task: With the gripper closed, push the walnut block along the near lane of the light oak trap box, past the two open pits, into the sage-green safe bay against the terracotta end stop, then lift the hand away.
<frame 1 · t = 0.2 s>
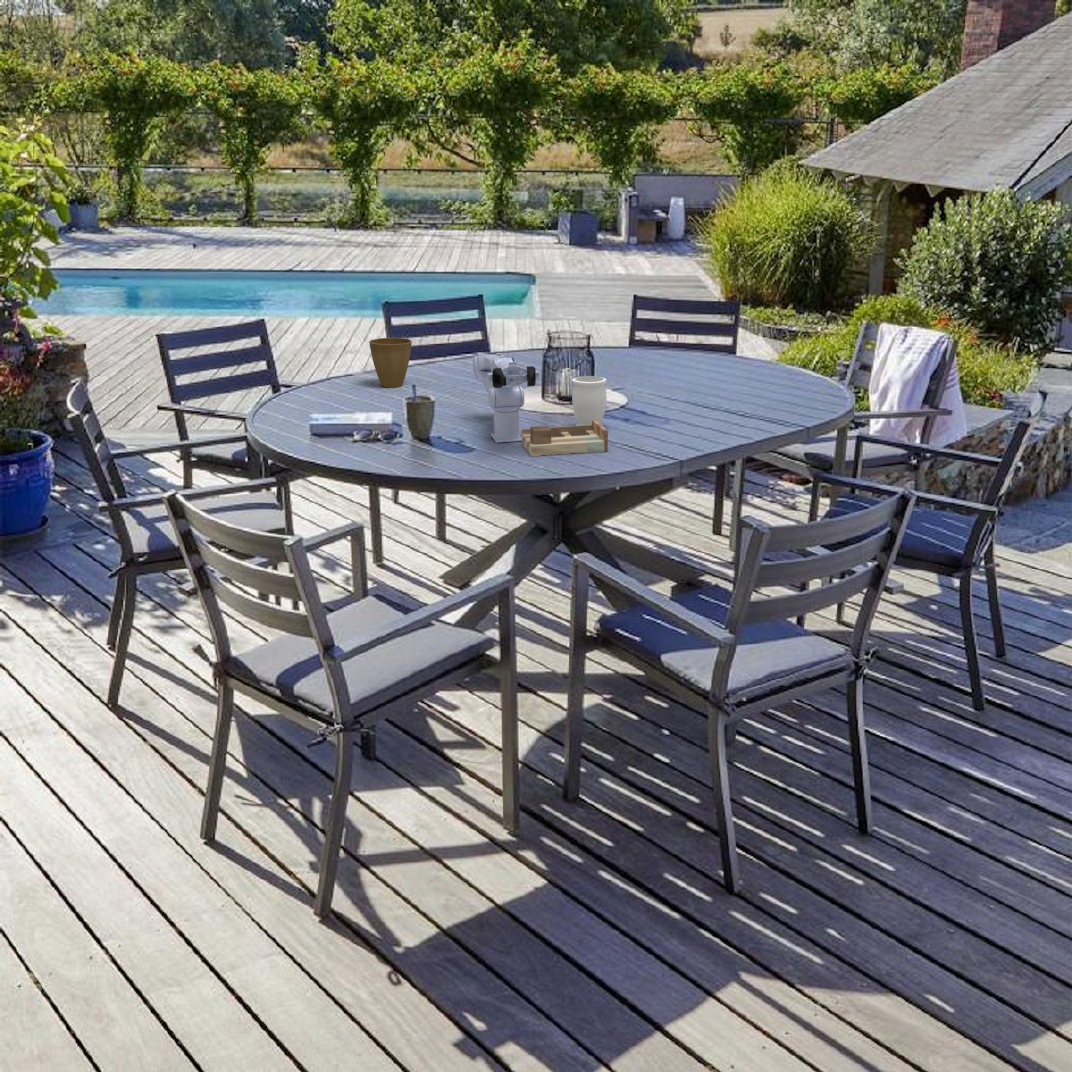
hand: (518, 381, 346), 21 cm above the table, tool horizontal, fingers open, 7 cm apart
jar: (589, 428, 383), on the table
trap box: (564, 447, 360), on the table
walnut block: (540, 441, 355), point 3 cm above the table, touching trap box
plant pot: (392, 386, 446), on the table
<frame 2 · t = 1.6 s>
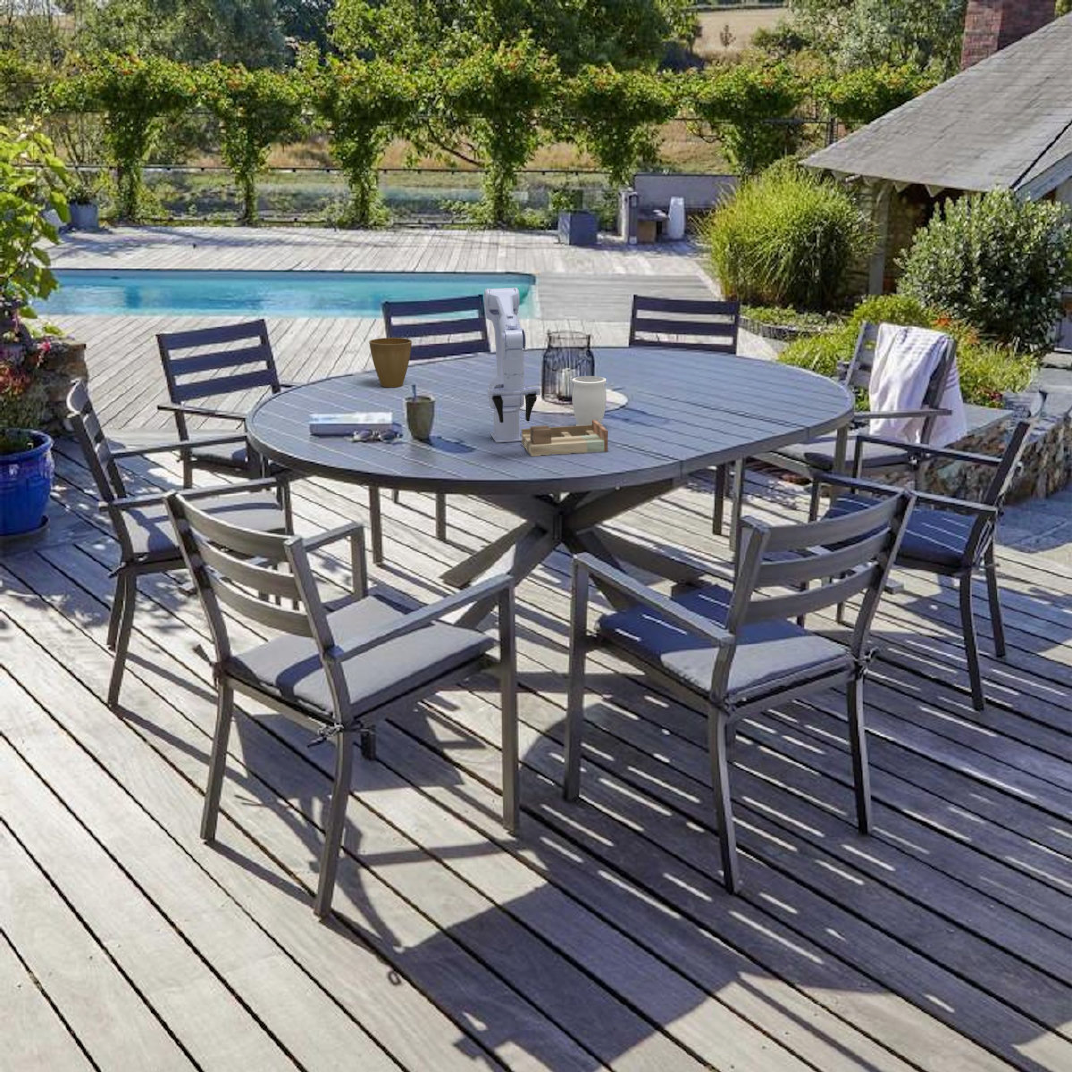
hand: (514, 421, 352), 9 cm above the table, tool pointing down, fingers open, 7 cm apart
nothing on the table moved.
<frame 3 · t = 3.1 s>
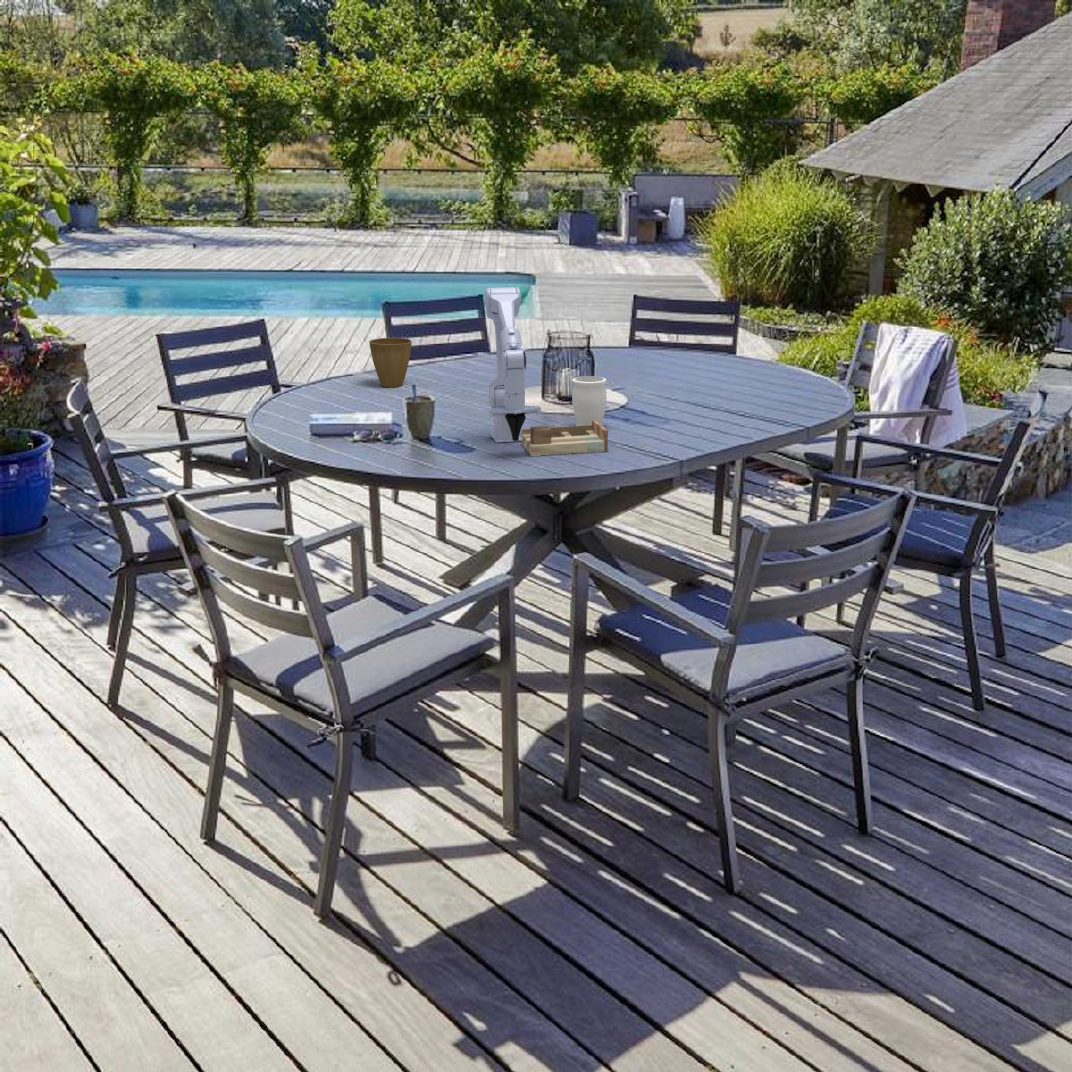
hand: (515, 439, 354), 4 cm above the table, tool pointing down, fingers closed
nothing on the table moved.
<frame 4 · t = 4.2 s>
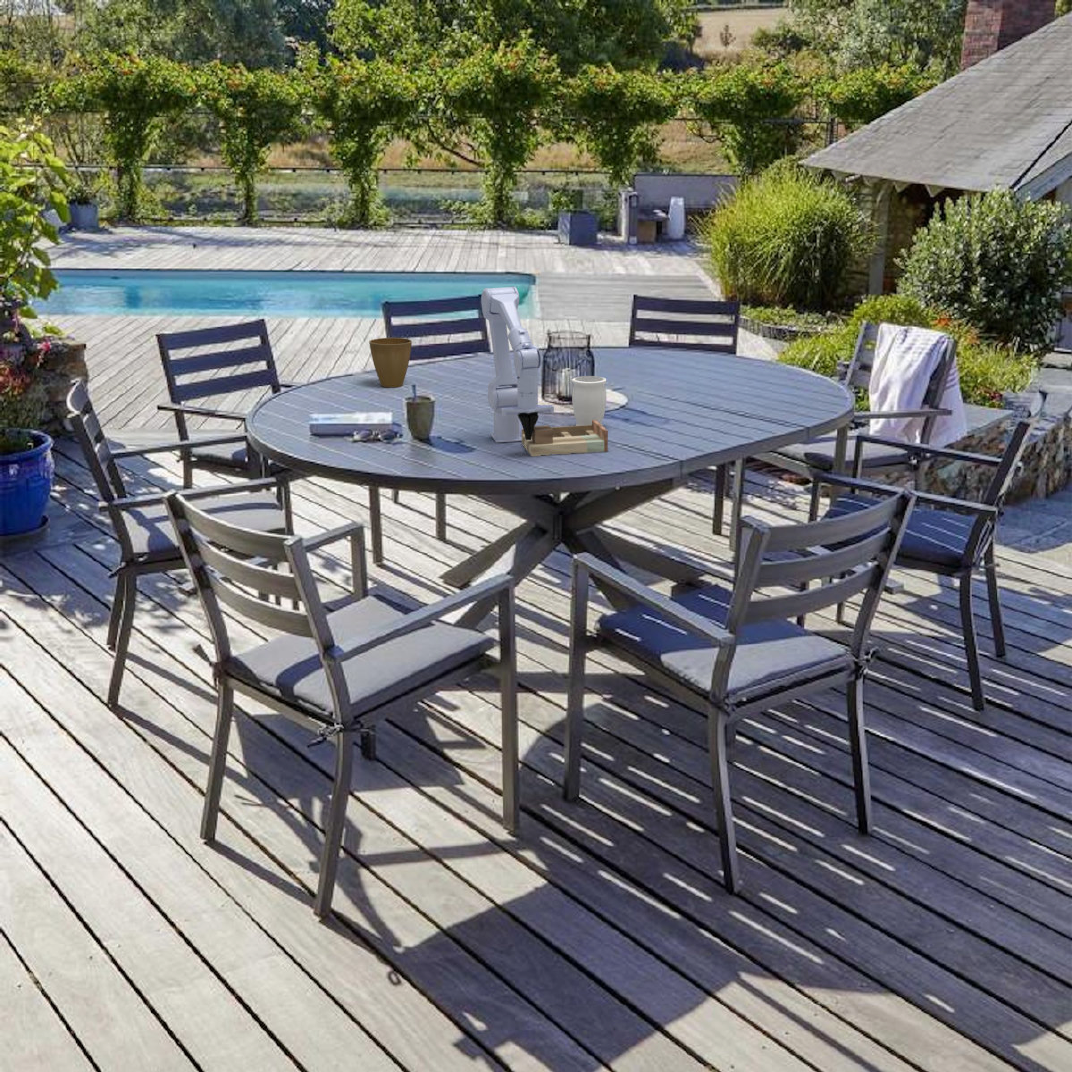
hand: (528, 439, 354), 4 cm above the table, tool pointing down, fingers closed
walnut block: (542, 441, 355), point 3 cm above the table, touching gripper
everything else where it was.
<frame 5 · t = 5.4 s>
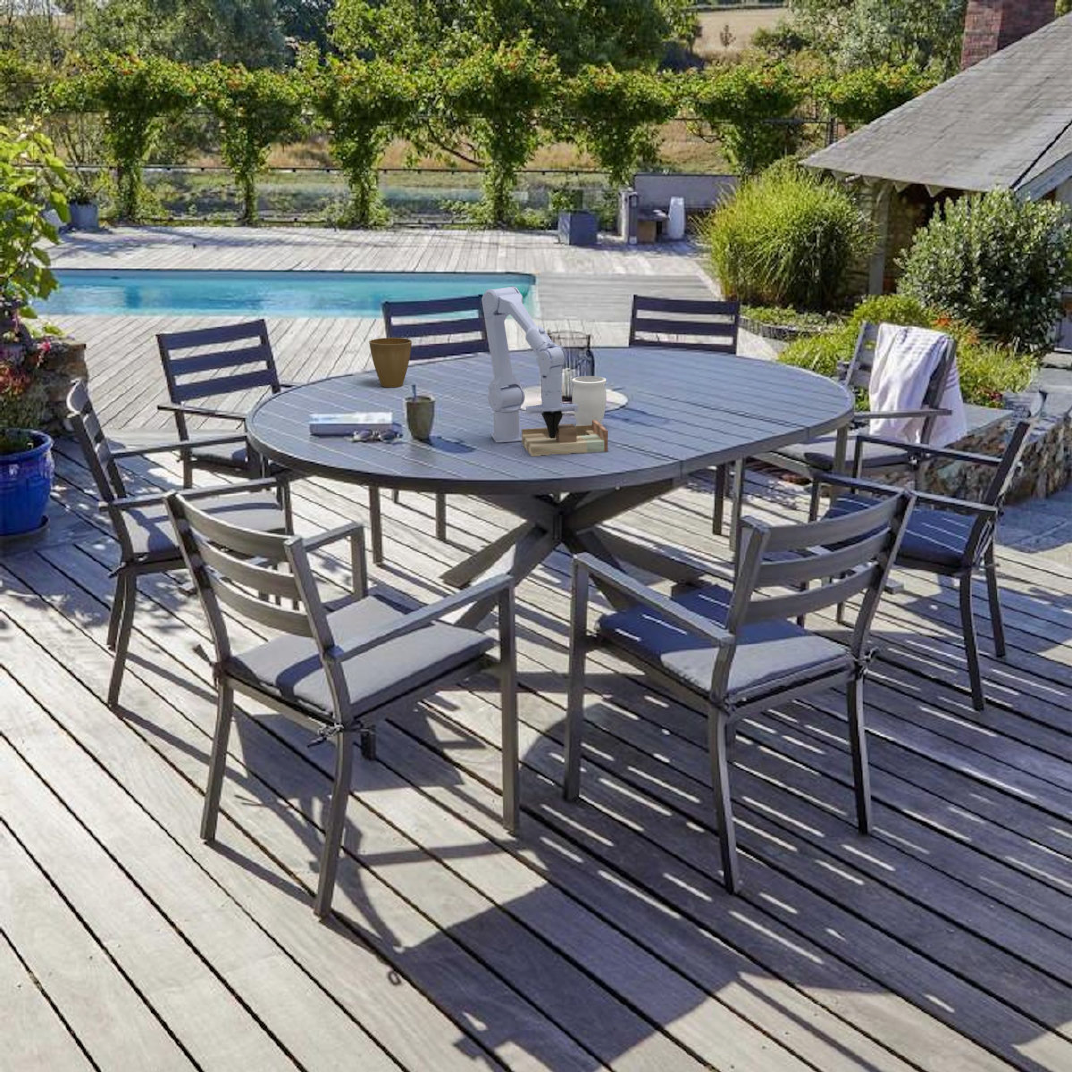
hand: (552, 437, 356), 4 cm above the table, tool pointing down, fingers closed
walnut block: (566, 440, 357), point 3 cm above the table, touching trap box
everything else where it was.
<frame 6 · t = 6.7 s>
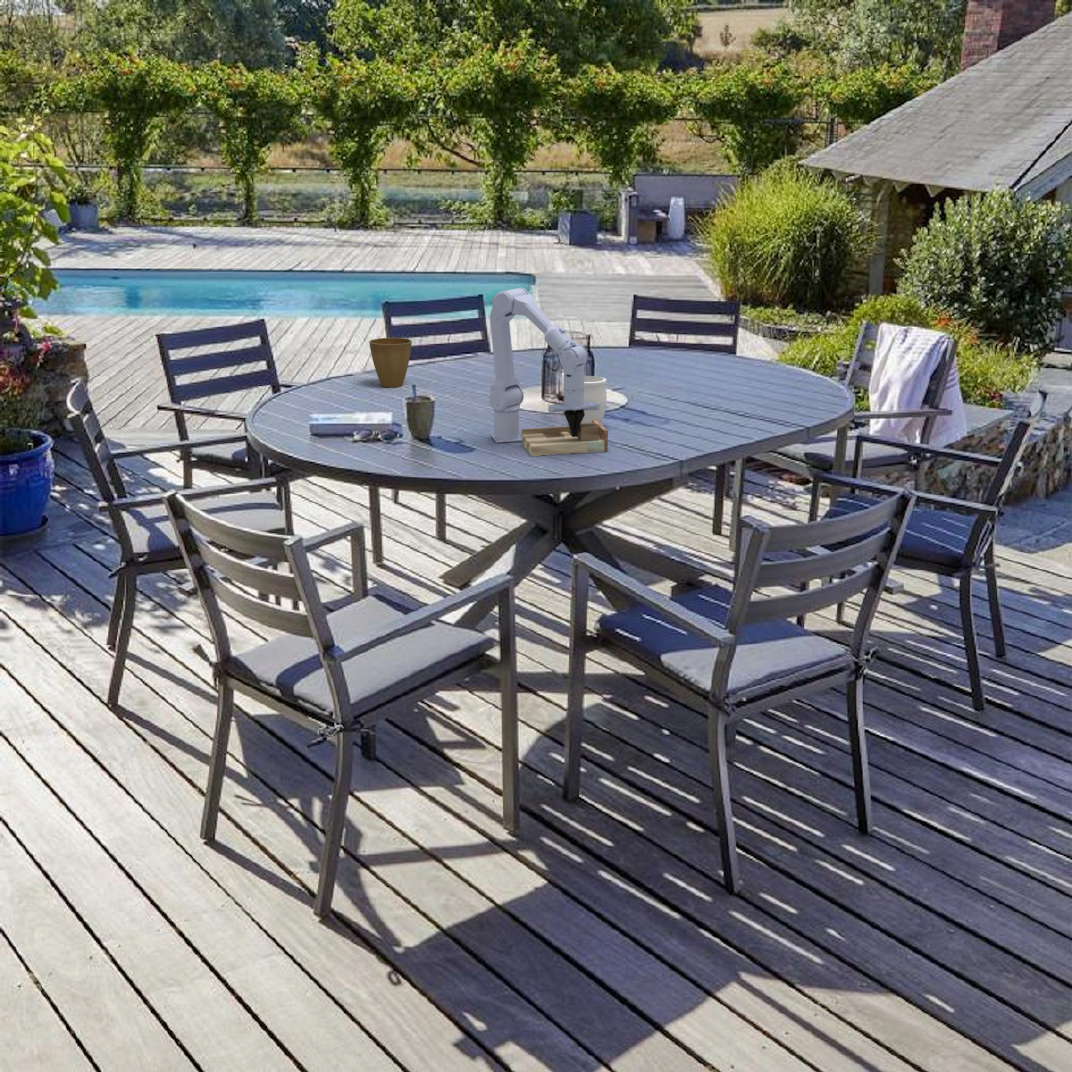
hand: (574, 436, 357), 4 cm above the table, tool pointing down, fingers closed
walnut block: (587, 438, 358), point 3 cm above the table, touching gripper
everything else where it was.
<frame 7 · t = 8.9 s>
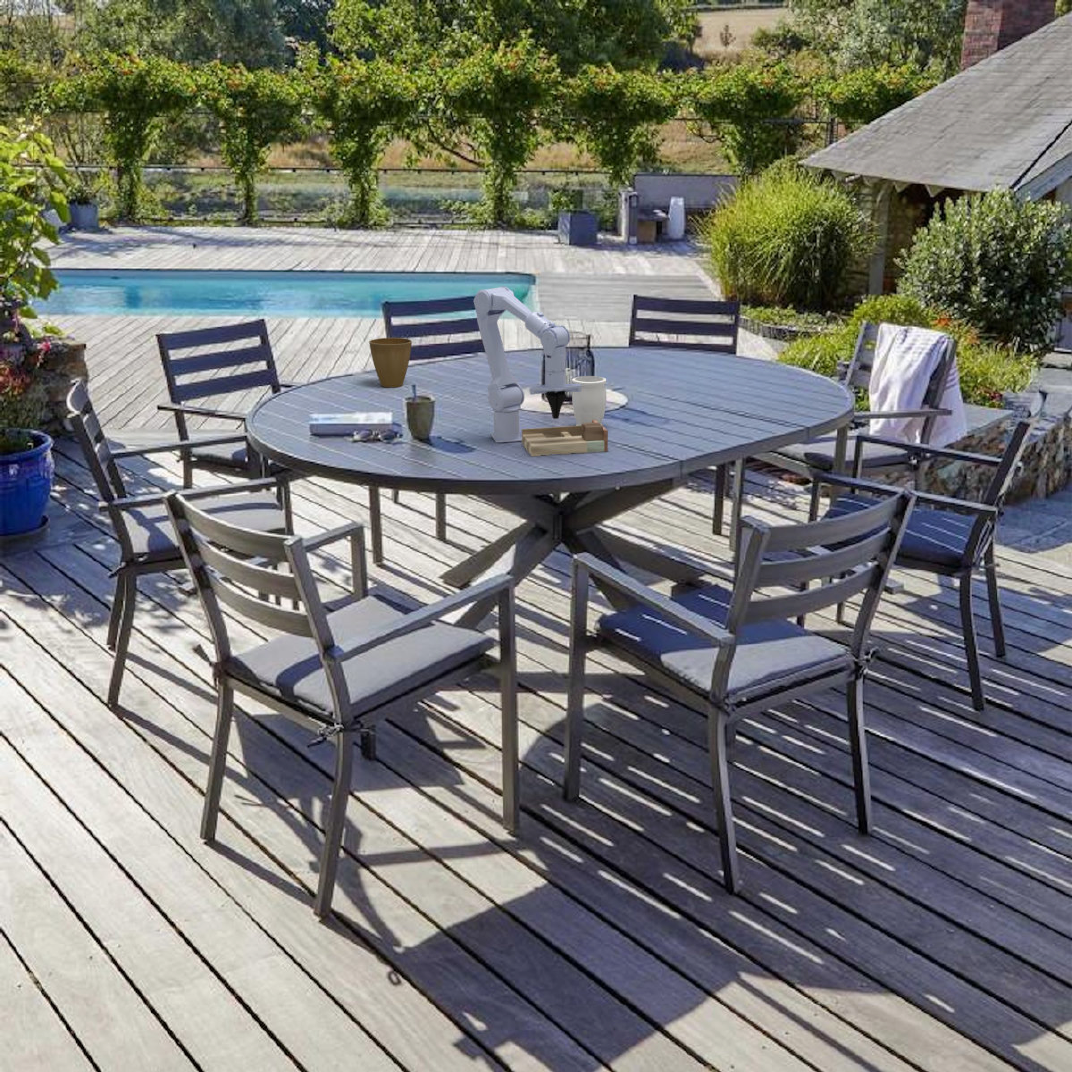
hand: (555, 417, 355), 9 cm above the table, tool pointing down, fingers closed
walnut block: (592, 438, 358), point 3 cm above the table, touching trap box
everything else where it was.
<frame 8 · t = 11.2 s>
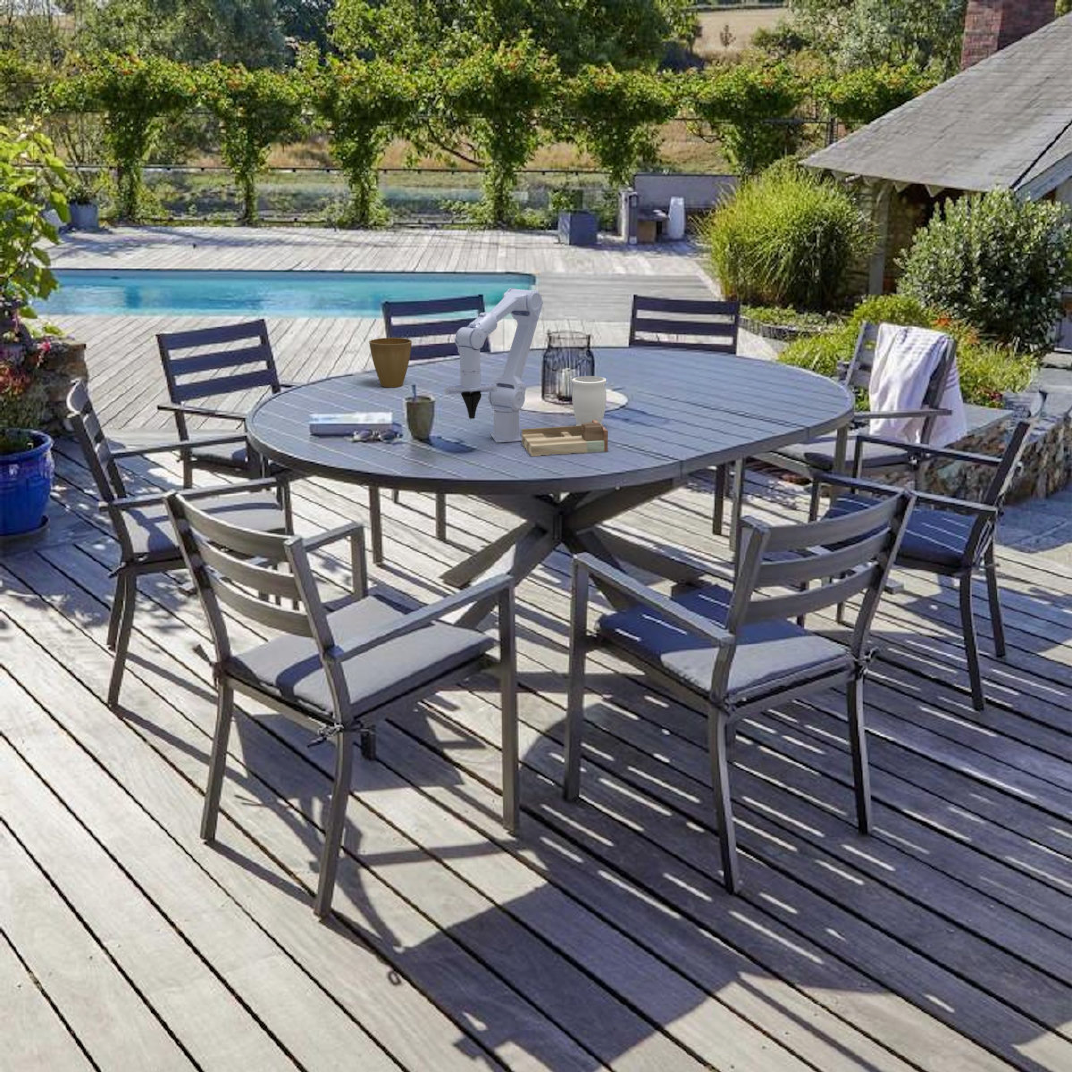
hand: (471, 417, 356), 9 cm above the table, tool pointing down, fingers closed
nothing on the table moved.
at the end: walnut block 0.5 cm from the target spot on the trap box, point 3.0 cm above the trap box's base; walnut block tilted 0° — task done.
